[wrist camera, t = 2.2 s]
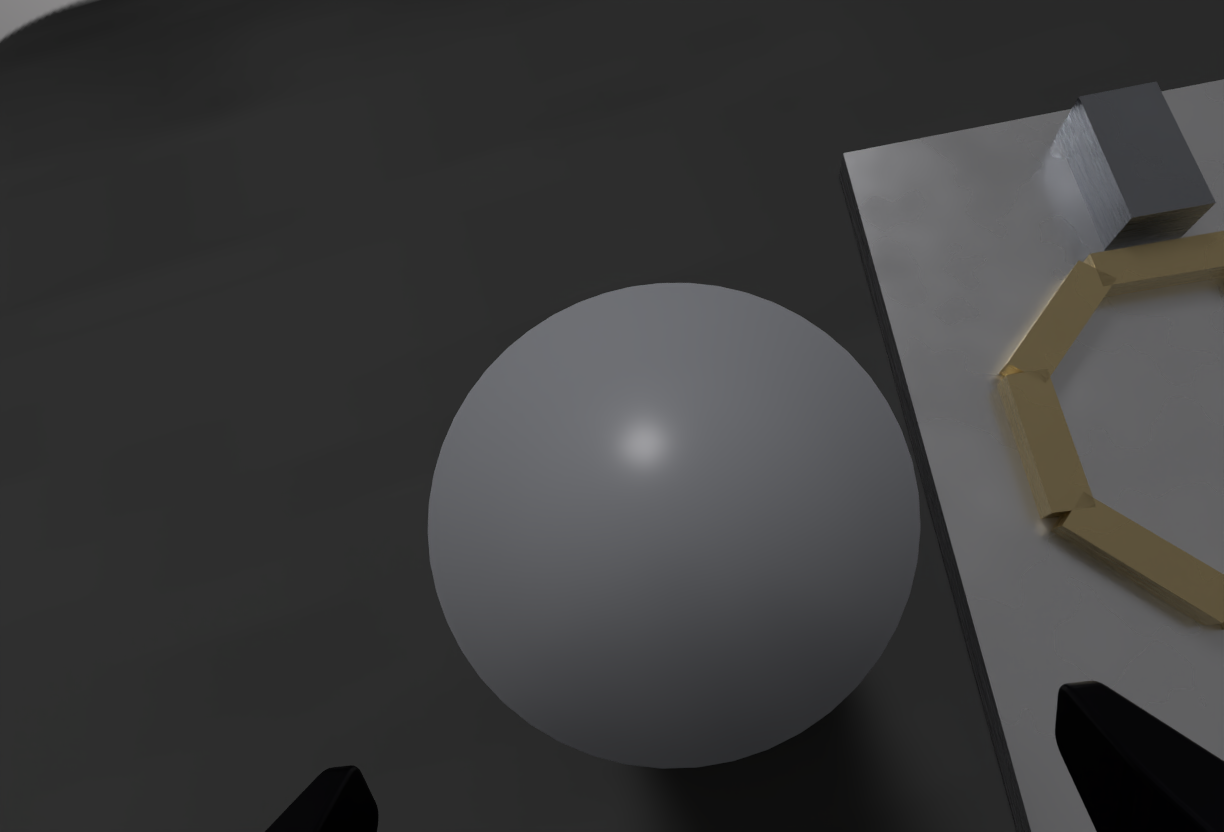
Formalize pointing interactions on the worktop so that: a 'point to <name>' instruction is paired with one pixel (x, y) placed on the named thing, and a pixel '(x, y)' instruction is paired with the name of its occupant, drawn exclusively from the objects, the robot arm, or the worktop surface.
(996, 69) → the worktop surface
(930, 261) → the shaft mount
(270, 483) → the worktop surface
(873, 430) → the domed cap cylinder
